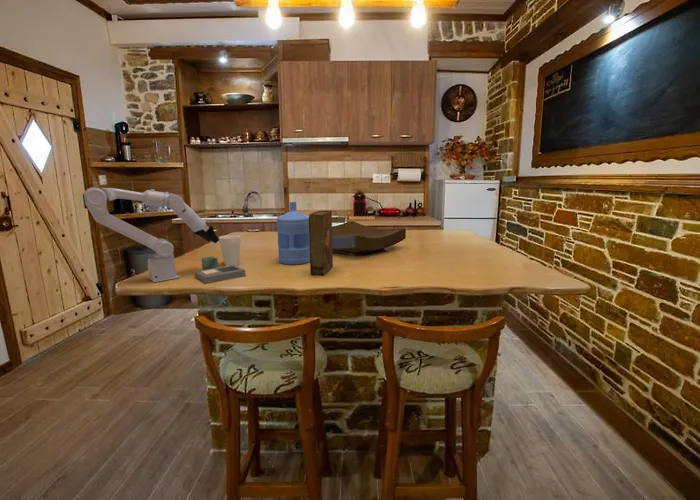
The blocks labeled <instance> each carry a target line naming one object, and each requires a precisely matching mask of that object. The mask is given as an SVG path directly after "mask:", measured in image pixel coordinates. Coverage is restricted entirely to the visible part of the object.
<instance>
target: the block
mask: <svg viewBox="0 0 700 500" xmlns="http://www.w3.org/2000/svg"><path fill="white" fill-rule="evenodd" d="M200 260H201V267H202V269H201V270H206V269H211V268H217V267H219V261H218V257H216V256H206V257H201V259H200Z"/></svg>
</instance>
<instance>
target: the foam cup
mask: <svg viewBox="0 0 700 500" xmlns="http://www.w3.org/2000/svg"><path fill="white" fill-rule="evenodd" d="M218 239H219V241H218V244H219V246H220V251H221V255H222V259H223V264H224V266H225V265H228V266H229V265H235V266H238V265H239V264H240V252H241V241H242V240H241V235H240V234H239V235H238V234H227V235H226V234H225V235H220V236H219V237H218Z"/></svg>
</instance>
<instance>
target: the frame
mask: <svg viewBox="0 0 700 500" xmlns="http://www.w3.org/2000/svg"><path fill="white" fill-rule="evenodd" d="M194 276H195V278H196V279H197V278H198V279H197V280H198V281H200V282H202V283H204V284H213V283H216V282H217V283H218V282H222V281H227V280H233V279H236V278H241V277H243V278H244V277H246V270H245V269H244V268H241V267H239V266H238V265H229V266H225V265H224V266H218V267H217V268H211V269H206V270H203V269H201V270H200V269H199V270H196V271H194Z"/></svg>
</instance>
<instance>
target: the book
mask: <svg viewBox="0 0 700 500" xmlns="http://www.w3.org/2000/svg"><path fill="white" fill-rule="evenodd" d="M332 215H333V213H332V210H318V211H314V212H312V213H309V214H308V217H309V241H310V262H309V266H310V268H309V270H310V275H312V276H313V275H320V276H325V275H326V274H327V273H328V272H329V271H330V270H331V269H332V268H333V267H334V263H333V216H332Z"/></svg>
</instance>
